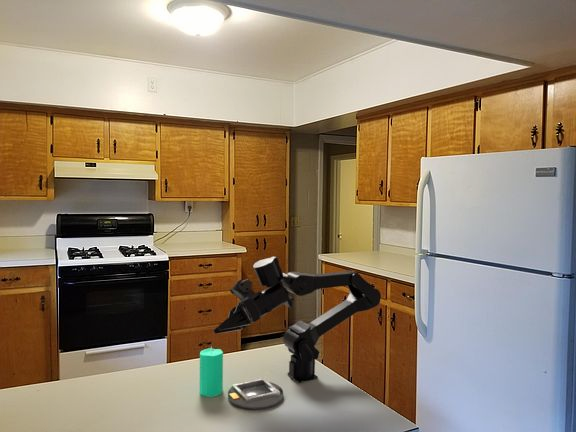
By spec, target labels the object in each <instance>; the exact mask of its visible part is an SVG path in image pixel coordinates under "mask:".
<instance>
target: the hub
mask: <svg viewBox="0 0 576 432" xmlns="http://www.w3.org/2000/svg"><path fill="white" fill-rule="evenodd" d="M227 400H228V403H230V405H232V406H233V407H235V408H239V409H242V410H245V411H246V410H248V411H261V410H262V411H263V410H267V409H270V408H274V407H276V406H277V405H279V404H280V403H281V402H282V401H283V400H284V391H283V388H282V387H281V386H279V384H276V383H274V382H272V381H268V380H267V379H266V378H264V377H263V378H258V379H252V380H247V381H243V382H238V383H234V384H232V385H231V387H229V389H228V391H227Z"/></svg>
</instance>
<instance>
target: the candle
mask: <svg viewBox="0 0 576 432" xmlns="http://www.w3.org/2000/svg"><path fill="white" fill-rule="evenodd" d="M199 352H200V353H199V395H201V396H203V397H216V396H217V397H218V396H219V395H221V394H222V393H223V390H224V389H223V387H224V386H223V385H224V379H223V378H224V377H223V376H224V352H223V351H222V349H220V348H217V349H215V348H213V346H212V345H211V347H209V348H205V349H203V350H201V351H199Z"/></svg>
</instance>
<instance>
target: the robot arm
mask: <svg viewBox="0 0 576 432" xmlns="http://www.w3.org/2000/svg"><path fill="white" fill-rule="evenodd" d="M278 258H279V257H277V256H271V257H267V258H264V259H260V260H258V261H256V262H255V263H254V264H253V269H254V271H255V272H254V273H255V274H256V277H257V279H258V281H259V283H260V286H262V287H263V286H264V287H265V289H263V290H262V291H257V292H255V291H253V288H252V283H253V282H252V281H251V280H250V279H248V278H246V279H244V280H242V279H238V280H237V281H235V283H234V285H233V286H232V287H231V288H230V290H229V292H230V293H231V294H232V295H234V296H236V298H238V299H239V302H238V303H236V306H234V307H232V308H231V309H230V310H229V312H228V316H227V318H226V319H225V320H224V321H222V322H221V323H220V324H219V325H218V326H217V327H216V328H214V329H213V333H214V335H218V334H224V333H229V332H230V333H231V332H235V331H242V330H243V329H245V328H246V327H248V326H250V325H251V324H254V323H256V322H257V321H259V320H261V318H262V317H263V316H266V314H269V313H270V312H272V311H274V310H275V309H277V308H278V307H280V306H282V305H284V306H286V307H288V308H290V309H291V308H292V307H293V303H294V300H295V298H294V297H292V296H290V293H291V294H294V295H296V296H298V297H302V296H306V295H309V294H313V293H314V292H315V291H317V290H320V289H329V288H339V287H347V288H348V290H349V291H350V292H349V294H348V296H347V298H346V299H345V300H343V301H341V302H340V303H339V304H337V305H335V306H334V307H333V308H331V309H329V310H327V311H326V312H325V313H323V314H321V315H320V316H318V317H317V318H315V319H314V320H312V321H311V322H308V323H306V322H304V321H303V320H299V321H297V322H295V323H293V325H291V326H288V329H287V330H286V331H285V332H284V335H283V339H282V340H283V344H284V346H285V347H286V348H287V350H288V352H289V353H291V355H290V360H289V362H288V363H289V365H288V369H289V370H288V372H287V376H288V377H290V378H291V379H293V380H294V381H295V382H297V383H304V382H308V381H312V380H317V379H318V378H319V377H318V375H317V374H315V373H316V371H315V370H316V368H315V367H316V360H318V358H319V356H320V351H319V349H317V347H315V346H316V345H317V342H318V341H319V339H320V337H322V336H323V335H325V334H326V333H328V332H330V331H331V330H333V329H334V328H335V327H338V326H339V325H340V324H341V323H343V322H344V321H346V320H347V319H349V318H350V317H352V316H354V315H355V314H357V313H360V312H361V313H362V312H365V311H369V310H371V309H374V308H376V307H378V306H379V305H380V304H381V298H382V296H381V292H380V290H379V289H377V288H375V287H374V286H373V285H371V284H370V283H369V282H368V281H367V280H365V279H364V277H362V275H360V273H359V272H356V271H353V270H350V269H348V270H345V271H335V272H326V273H323V272H322V273H314V274H313V273H307V272H298V271H289V272H287V273H285V272H283V270H282V269H281V265H280V262H279V259H278ZM289 292H290V293H289Z"/></svg>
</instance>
